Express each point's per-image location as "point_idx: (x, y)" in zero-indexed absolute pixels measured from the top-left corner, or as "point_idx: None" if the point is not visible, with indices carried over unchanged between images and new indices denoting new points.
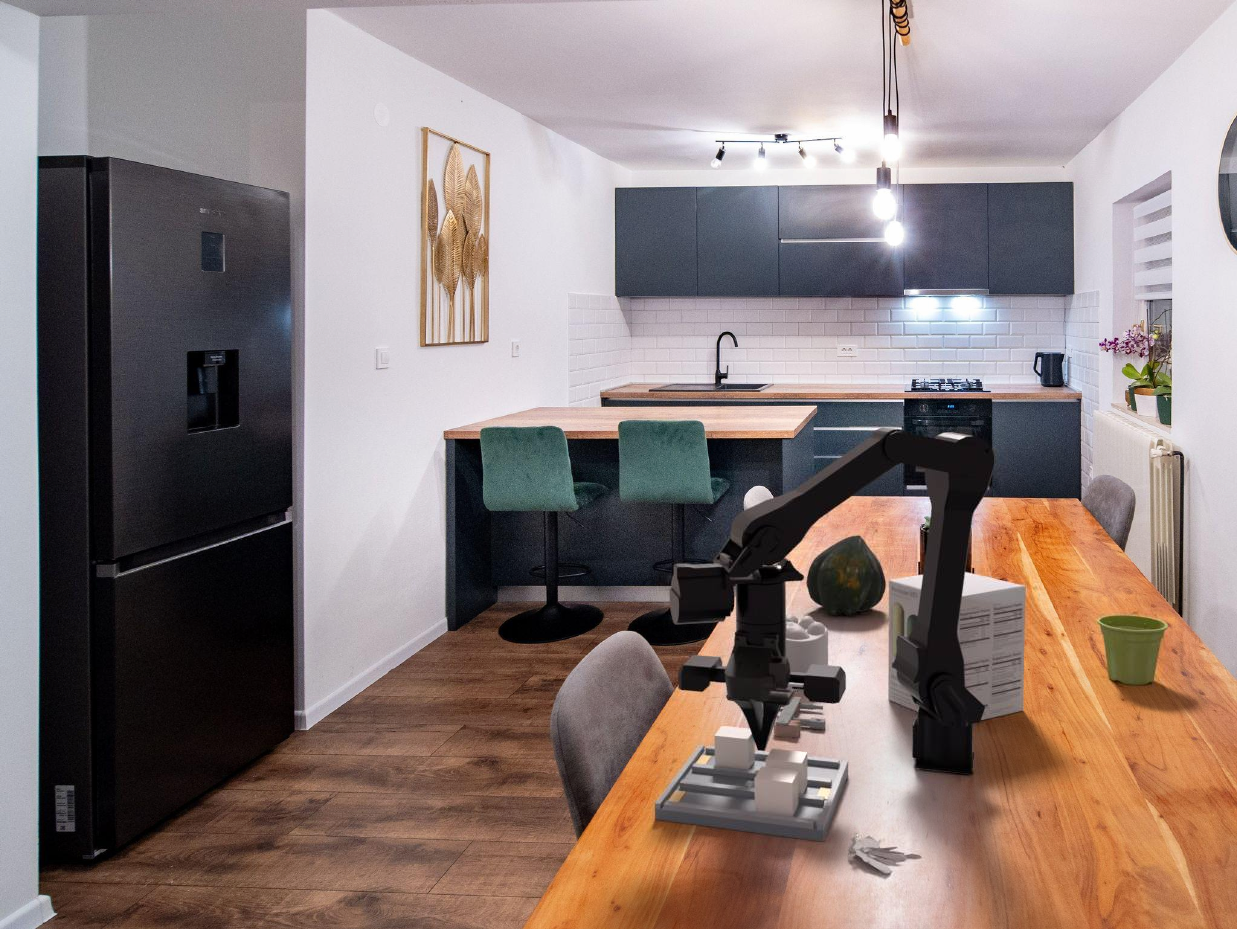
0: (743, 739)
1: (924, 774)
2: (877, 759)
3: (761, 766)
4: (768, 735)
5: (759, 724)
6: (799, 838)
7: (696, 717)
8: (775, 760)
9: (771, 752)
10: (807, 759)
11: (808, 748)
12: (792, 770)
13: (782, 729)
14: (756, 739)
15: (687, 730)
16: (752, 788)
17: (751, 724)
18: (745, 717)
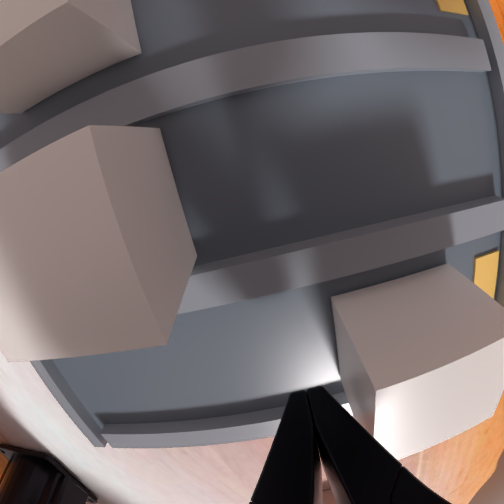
0: (399, 379)
1: (31, 441)
2: (120, 476)
3: (68, 3)
4: (269, 455)
5: (340, 494)
6: None
7: (480, 449)
8: (31, 157)
9: (125, 278)
10: (178, 431)
11: None
12: None
13: (332, 500)
14: (335, 418)
15: (496, 414)
16: (207, 90)
17: (384, 475)
18: (436, 494)
